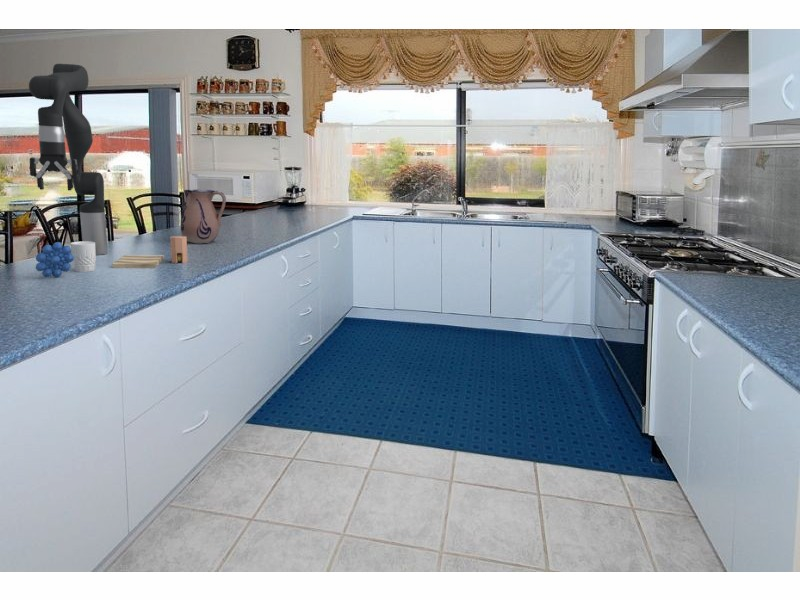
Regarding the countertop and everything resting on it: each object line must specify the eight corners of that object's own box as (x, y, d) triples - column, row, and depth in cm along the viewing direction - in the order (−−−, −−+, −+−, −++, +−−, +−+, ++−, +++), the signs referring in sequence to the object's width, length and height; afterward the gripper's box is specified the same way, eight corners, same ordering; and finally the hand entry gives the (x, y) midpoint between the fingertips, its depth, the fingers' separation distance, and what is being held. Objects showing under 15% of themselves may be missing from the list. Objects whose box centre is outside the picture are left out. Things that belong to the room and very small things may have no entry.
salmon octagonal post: (171, 260, 250) (170, 235, 248) (187, 260, 252) (186, 235, 250) (171, 263, 245) (170, 237, 242) (187, 263, 247) (186, 237, 244)
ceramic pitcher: (182, 240, 307) (180, 188, 301) (227, 239, 313) (225, 189, 307) (180, 245, 291) (177, 190, 285) (227, 245, 296) (225, 191, 291)
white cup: (73, 268, 227) (71, 241, 225) (97, 268, 230) (95, 241, 228) (72, 272, 220) (70, 244, 218) (97, 271, 224) (95, 244, 221)
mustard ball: (176, 261, 250) (175, 253, 249) (184, 261, 250) (184, 253, 250) (174, 262, 247) (174, 254, 246) (183, 262, 247) (182, 254, 246)
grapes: (73, 273, 219) (70, 239, 216) (76, 277, 213) (73, 242, 211) (35, 276, 212) (31, 241, 209) (37, 280, 207) (34, 244, 204)
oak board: (124, 258, 251) (124, 255, 250) (163, 258, 254) (163, 255, 253) (112, 267, 232) (112, 263, 231) (155, 267, 235) (154, 263, 234)
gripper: (78, 141, 213) (81, 189, 216) (31, 139, 209) (35, 188, 213) (72, 141, 205) (76, 191, 209) (24, 139, 202) (28, 190, 206)
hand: (55, 189), depth 211 cm, fingers open, 8 cm apart
